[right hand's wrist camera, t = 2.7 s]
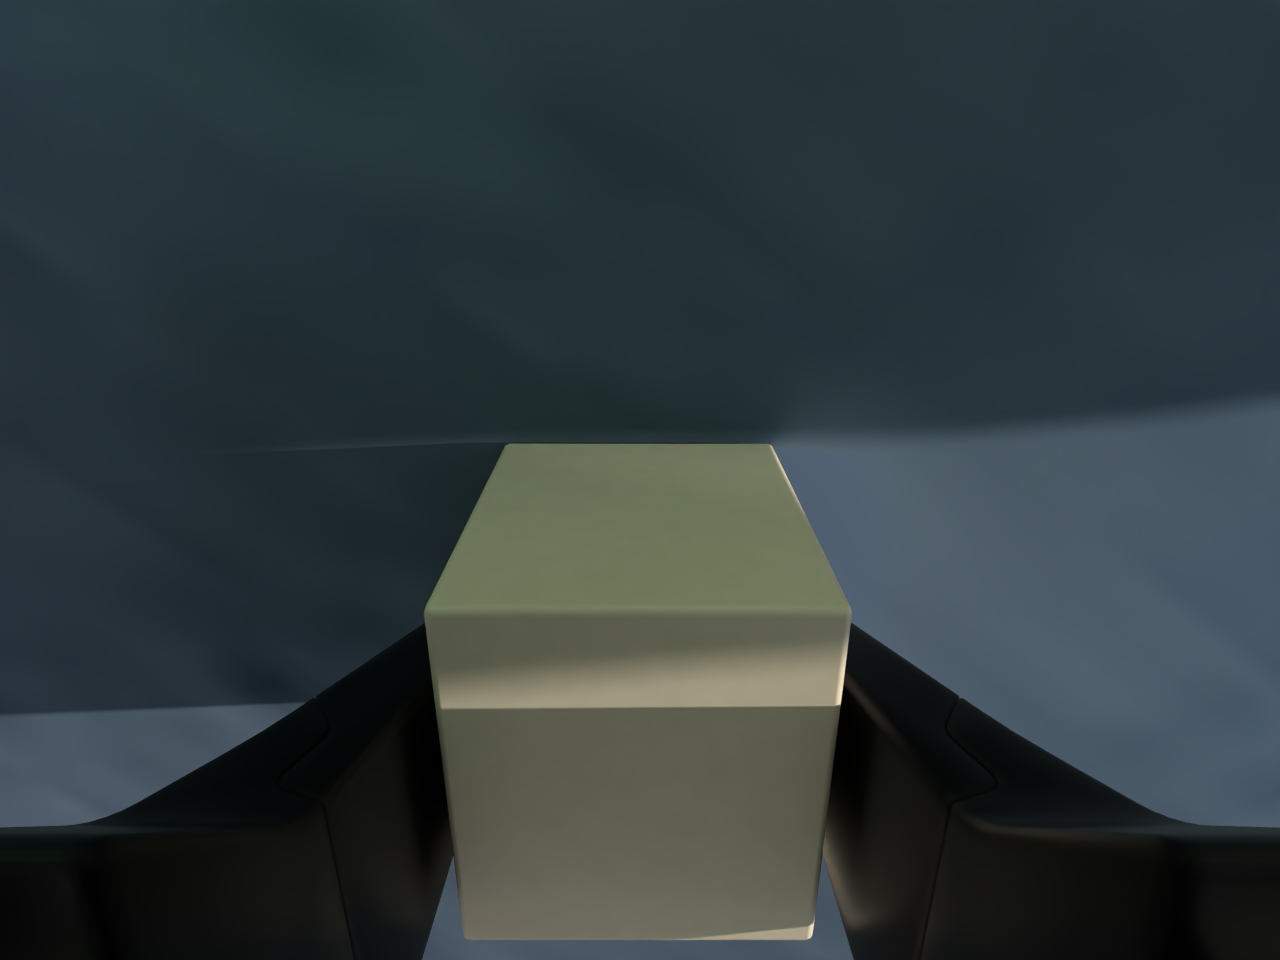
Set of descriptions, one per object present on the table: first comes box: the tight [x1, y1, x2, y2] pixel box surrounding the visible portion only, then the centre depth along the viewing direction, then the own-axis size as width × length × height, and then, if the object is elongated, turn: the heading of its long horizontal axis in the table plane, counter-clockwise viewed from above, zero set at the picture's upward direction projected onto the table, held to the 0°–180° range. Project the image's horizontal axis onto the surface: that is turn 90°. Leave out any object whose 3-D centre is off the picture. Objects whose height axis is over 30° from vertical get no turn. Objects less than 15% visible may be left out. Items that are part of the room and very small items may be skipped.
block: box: [424, 444, 852, 940], centre depth 10 cm, size 4×5×5 cm
